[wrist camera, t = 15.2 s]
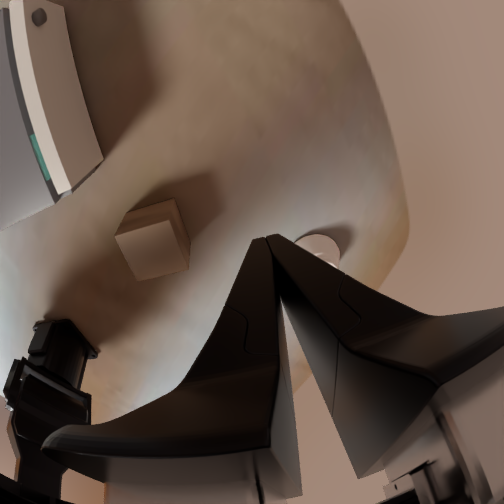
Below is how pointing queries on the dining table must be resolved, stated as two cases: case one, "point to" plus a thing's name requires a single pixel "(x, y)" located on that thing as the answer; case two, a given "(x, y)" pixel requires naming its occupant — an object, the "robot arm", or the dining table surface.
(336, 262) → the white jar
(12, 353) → the dining table surface
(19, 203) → the housing
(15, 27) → the white drawer
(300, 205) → the dining table surface
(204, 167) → the dining table surface
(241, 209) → the dining table surface
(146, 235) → the brown cube
